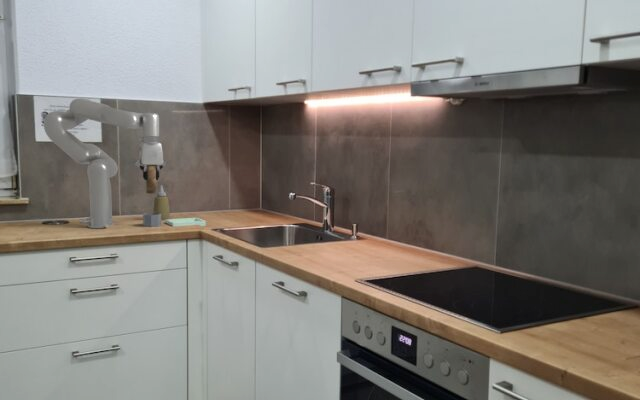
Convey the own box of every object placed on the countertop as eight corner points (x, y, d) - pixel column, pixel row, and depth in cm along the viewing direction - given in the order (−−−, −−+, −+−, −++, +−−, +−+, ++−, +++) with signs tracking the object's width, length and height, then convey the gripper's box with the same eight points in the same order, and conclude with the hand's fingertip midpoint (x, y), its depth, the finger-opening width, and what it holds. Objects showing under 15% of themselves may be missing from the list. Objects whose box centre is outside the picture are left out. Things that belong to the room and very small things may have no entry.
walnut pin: (147, 193, 267) (147, 165, 265) (145, 192, 270) (144, 164, 269) (157, 193, 269) (157, 165, 268) (154, 192, 273) (154, 164, 271)
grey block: (145, 229, 266) (145, 215, 265) (140, 227, 273) (140, 213, 272) (163, 228, 270) (163, 214, 270) (158, 225, 277) (158, 212, 277)
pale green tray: (173, 228, 271) (173, 223, 270) (165, 224, 281) (165, 219, 281) (205, 225, 279) (205, 220, 279) (196, 222, 289) (196, 217, 289)
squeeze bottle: (172, 220, 296) (171, 184, 294) (166, 222, 288) (166, 186, 286) (156, 219, 297) (156, 184, 295) (150, 221, 289) (150, 185, 287)
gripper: (134, 140, 259) (134, 180, 261) (171, 140, 268) (171, 180, 270) (130, 139, 266) (130, 179, 268) (166, 140, 275) (166, 178, 277)
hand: (151, 179), depth 269 cm, fingers closed on walnut pin, 4 cm apart
